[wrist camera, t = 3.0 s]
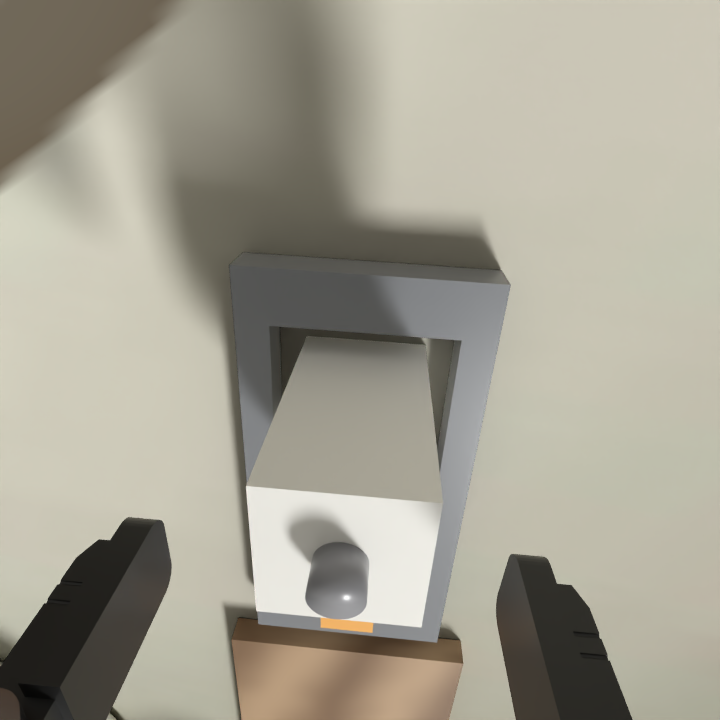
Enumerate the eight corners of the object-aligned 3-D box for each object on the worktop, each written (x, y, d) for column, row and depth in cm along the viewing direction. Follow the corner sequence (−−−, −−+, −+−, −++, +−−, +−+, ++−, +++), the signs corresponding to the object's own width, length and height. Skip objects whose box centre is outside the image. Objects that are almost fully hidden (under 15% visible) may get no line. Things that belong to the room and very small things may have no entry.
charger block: (425, 344, 18) (446, 539, 10) (413, 440, 20) (423, 666, 12) (306, 336, 18) (231, 519, 10) (307, 432, 20) (245, 648, 12)
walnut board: (460, 640, 25) (463, 663, 24) (433, 752, 31) (434, 775, 30) (238, 617, 26) (231, 639, 25) (251, 732, 32) (245, 753, 31)
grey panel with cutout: (501, 270, 16) (516, 293, 14) (435, 613, 25) (438, 659, 23) (242, 252, 16) (220, 272, 14) (265, 596, 25) (254, 640, 23)
